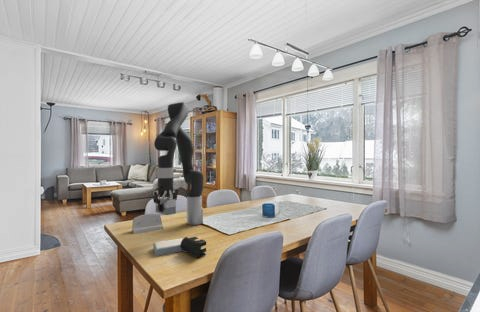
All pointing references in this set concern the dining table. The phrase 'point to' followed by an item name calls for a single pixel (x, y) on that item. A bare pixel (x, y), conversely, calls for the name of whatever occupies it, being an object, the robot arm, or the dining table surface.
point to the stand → (167, 247)
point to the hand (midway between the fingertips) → (165, 210)
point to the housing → (167, 206)
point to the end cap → (193, 246)
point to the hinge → (147, 223)
